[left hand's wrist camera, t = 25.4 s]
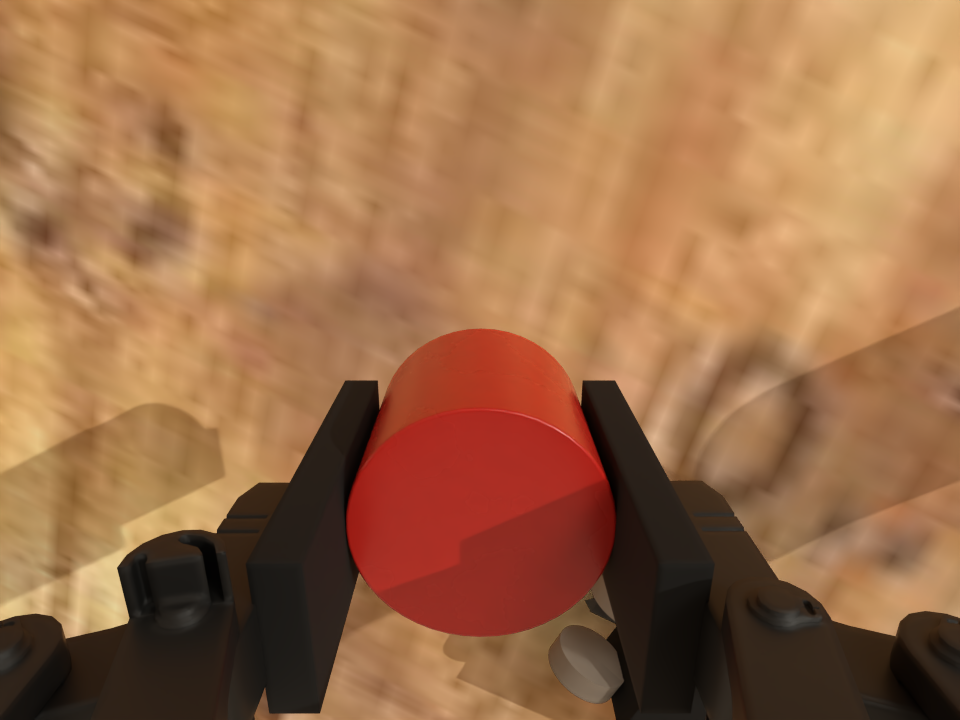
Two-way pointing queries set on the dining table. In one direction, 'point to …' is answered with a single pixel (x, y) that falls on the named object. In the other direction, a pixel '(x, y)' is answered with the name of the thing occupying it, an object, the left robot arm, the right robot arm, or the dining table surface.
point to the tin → (481, 489)
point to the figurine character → (604, 666)
